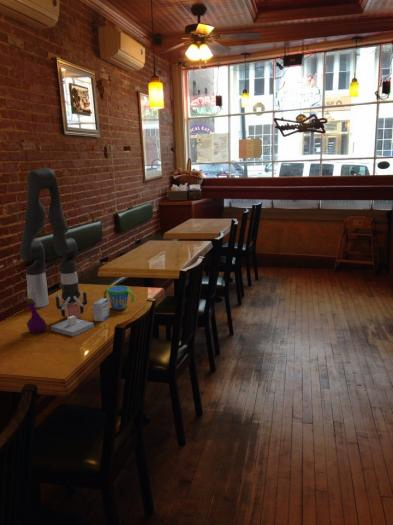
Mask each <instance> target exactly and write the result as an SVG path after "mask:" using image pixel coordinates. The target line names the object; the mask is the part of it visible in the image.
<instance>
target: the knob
mask: <svg viewBox="0 0 393 525" xmlns="http://www.w3.org/2000/svg"><path fill="white" fill-rule="evenodd" d="M79 306H80V305H79V304H78V302H77V301H76V302H75V303H67V305H66V306H65V317H66V318H68V317H70V316H76V319H80V318H81V316H80V315H81V314H80V307H79ZM80 320H81V319H80Z"/></svg>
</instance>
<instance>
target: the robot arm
mask: <svg viewBox="0 0 393 525" xmlns="http://www.w3.org/2000/svg"><path fill="white" fill-rule="evenodd" d="M45 190H46V191H47V190H48V192H49V196H50V198H49V199H50V202H49V206H48V207H49V208H48V213H47V210H46V208H45V207H44V205H43V203H42V202H41V201H40V192H41V191H45ZM26 199H27V200H26V207H25V213H24V214H25V215H24V225H23V232H22V238H21V241H20V246H19V256H20V259H21V260H22V261H24V262H30V261H34V262H33V263H32V264H31V265H29V266H28V267H26V268H25V277H26V284H27V287H26V292H27V299H29V297H30V299H33V302H35V303H36V304H35V305H34V307H35V309H36V308H37V309H39V308H45V307H47V306H49V303H50V302H49V294H48V285H47V283H48V282H47V275H46V261H45V259H46V258H45V247H44V244H43V243H42V242H41V241H40V240H35V241H34V239H35V238H36V236H38V235H39V234H40V233H41V231H42V230H43V229H44V227H45V226H46V220H47V217H48V222H49V225H50V228H51V232H52V241H53V242H52V243H53V248H54V251H55V252H56V254H57V255H58V256H61V257H62V256H63V258H62V259H61V260H60V262H59V269H60V270H59V271H60V285H61V295H55V296H54V298H55V299H54V300H55V306H56V309H57V310H60V314H61V316H62V317H63V318H65V317H66V305H67V303H75V302H76V303H77V304H78V306H79V314H80V315H83V313H84V310H85V309H84V306H86V305H87V304H88V299H87V298H88V297H87V293H86V291H81V292H80V289H79V279H78V277H79V276H78V273H77V256H78V244H77V241H76V240H75V239H74V238H72V237H67V238H66V234H67V233H68V232H69V226H68V224H67V223H68V222H67V220H66V218H65V214H64V211H63V206H62V200H61V195H60V190H59V182H58V179H57V176H56V173H55V171H54V170H53V169H52V168H50V167H45V168H38V169H36V168H35V169H33V170H30V171H29V173H28V175H27V198H26ZM33 291H36V292H37V293H38V294H39V296H38V294H37V293H33V294H32V295H31V296H30V294H31V293H32V292H33ZM80 296H81V297H82V301H81V300H80V299H79V298H80ZM61 299H63V301H62V303H61V305H60V301H61Z"/></svg>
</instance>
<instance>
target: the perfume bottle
mask: <svg viewBox="0 0 393 525" xmlns="http://www.w3.org/2000/svg"><path fill="white" fill-rule="evenodd" d="M33 293H37V292H36V291H33V292H32V293H31V294H30V296H31V295H32V294H33ZM37 294H38V293H37ZM38 296H39V294H38ZM25 301H26V302H25V307H28V308H29V309H30V312H31V316H30V318H29V319H28V321H27V322H26V327H27V328H28V330H29V331H30V333H31V334H33V335H36V334H41V333H44V331H46V328H47V326H48V324H47V322H46V320H45V319H44V318H43V317H42V316H41V315H40V314H39V313H38V311H37V309H36V308H35V307H34V305H35V304H36V303H35V302H33V299H30V297H29V299H28V298H27V299H26V300H25Z"/></svg>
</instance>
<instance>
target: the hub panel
mask: <svg viewBox="0 0 393 525" xmlns="http://www.w3.org/2000/svg"><path fill="white" fill-rule="evenodd" d="M66 318H67V317H66ZM94 328H95V324H94V322H92V321H87V320H83V319H76V316H70V317H68V318H67V319H65V320H62V321H60V322H58V323H55V324H52V325H51V326H50V330H51V332H56V333H59V334H62V335H66V336H68V337H72V338H73V337H75V336H78V335H79V334H82V333H84V332H87V331H90V330H92V329H94Z"/></svg>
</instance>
